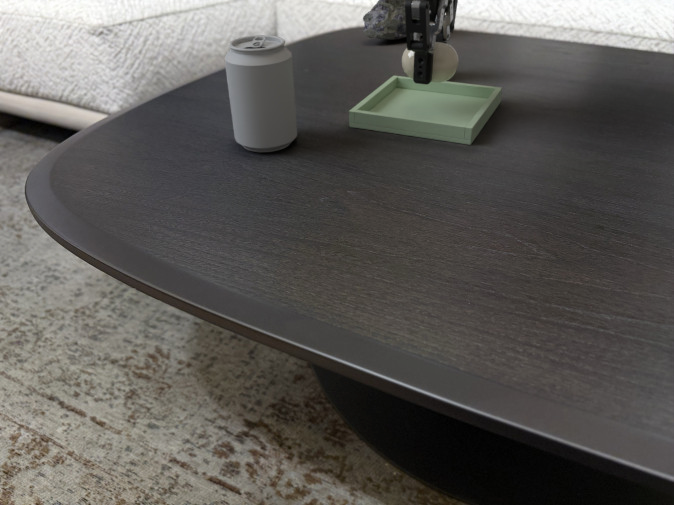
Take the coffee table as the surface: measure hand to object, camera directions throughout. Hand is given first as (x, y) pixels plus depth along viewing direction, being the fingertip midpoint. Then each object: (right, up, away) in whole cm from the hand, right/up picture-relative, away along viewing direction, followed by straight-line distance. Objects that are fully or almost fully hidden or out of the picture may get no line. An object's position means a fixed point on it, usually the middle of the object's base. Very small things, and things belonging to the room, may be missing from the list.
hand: (429, 76), depth 76 cm
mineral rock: (-1, +18, +36) cm, 41 cm away
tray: (0, -4, +3) cm, 5 cm away
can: (-20, -9, -4) cm, 22 cm away
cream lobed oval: (0, 0, 0) cm, 1 cm away
